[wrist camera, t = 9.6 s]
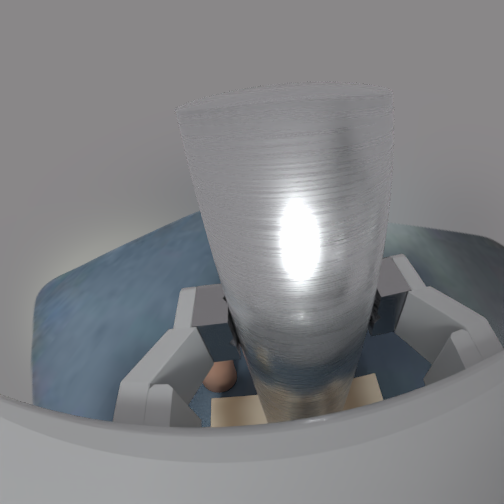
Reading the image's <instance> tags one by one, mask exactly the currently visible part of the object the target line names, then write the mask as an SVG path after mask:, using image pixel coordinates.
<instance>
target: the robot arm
mask: <svg viewBox="0 0 504 504" xmlns="http://www.w3.org/2000/svg"><path fill="white" fill-rule="evenodd" d="M368 330H369V333H370V335H371V336H376V335H380V334H385V333H389V332H394V331H395V333H396V334H397V335H398V336H399V337H401V338H402V339H403V340H404V341H405V342H406V343H408V344H409V345H410V346H411V347H412V348H414V349H415V350H416V351H417V352H418V353H420V354H421V355H422V356H423V357H424V358H425V359H427V360H428V361H429V362H430V363H431V364H432V366H431V367H430V369H429V370H428V372H427V373H426V375H425V377H424V379H423V380H424V383H425V385H426V386H424V387H421V388H419V389H416V390H413V391H410V392H407V393H404V394H401V395H398V396H395V397H392V398H389V399H386V400H382V401H379V402H375V403H372V404H368V405H365V406H361V407H357V408H353V409H349V410H344V411H340V412H335V413H331V414H326V415H321V416H315V417H310V418H304V419H297V420H291V421H284V422H276V423H267V424H257V425H245V426H229V427H201V419H200V418H199V417H198V416H197V415H196V414H195V413H194V412H193V411H192V410H191V408H190V407H189V406H188V404H189V403H190V401H191V400H192V398H193V397H194V395H195V393H196V392H197V390H198V389H199V387H200V385H201V384H202V382H203V381H204V379H205V378H206V376H207V374H208V373H209V371H210V370H211V368H212V366H213V365H214V362H220V361H229V360H237V359H241V356H240V341H239V338H238V335H237V332H236V329H235V326H234V323H233V320H232V317H231V313H230V310H229V307H228V304H227V301H226V297H225V294H224V291H223V288H222V284H214V285H205V286H198V287H189V288H182V290H181V291H180V295H179V300H178V306H177V311H176V316H175V322H174V328H173V329H169V330H168V331H167V332H166V333H165V334H164V335H163V336H162V337H161V338H160V340H159V341H158V342H157V343H156V344H155V345H154V346H153V347H152V348H151V349H150V350H149V352H148V353H147V354H146V355H145V356H144V357H143V358H142V359H141V360H140V361H139V363H138V364H137V365H136V366H135V367H134V368H133V369H132V370H131V371H130V372H129V374H128V375H127V376H126V377H125V378H124V379H123V380H122V381H121V384H120V388H119V393H118V397H117V402H116V407H115V412H114V417H113V422H110V421H104V420H97V419H91V418H86V417H80V416H75V415H71V414H66V413H62V412H57V411H53V410H49V409H45V408H42V407H38V406H34V405H31V404H27V403H24V402H21V401H18V400H15V399H12V398H9V397H6V396H4V395H1V394H0V504H504V349H503V347H502V345H501V344H500V342H499V340H498V338H497V337H496V335H495V333H494V331H493V330H492V328H491V326H490V325H489V323H488V321H487V320H486V318H484V317H483V316H481V315H479V314H478V313H476V312H474V311H473V310H471V309H469V308H467V307H466V306H464V305H462V304H461V303H459V302H457V301H455V300H454V299H452V298H450V297H448V296H447V295H445V294H443V293H441V292H440V291H438V290H436V289H434V288H432V287H431V286H429V287H426V286H425V284H424V283H423V281H422V280H421V278H420V277H419V275H418V274H417V272H416V271H415V269H414V268H413V266H412V265H411V263H410V262H409V261H408V259H407V258H406V256H405V255H403V254H399V255H394V256H389V257H385V258H382V264H381V269H380V275H379V280H378V285H377V290H376V295H375V299H374V304H373V308H372V313H371V317H370V321H369V325H368Z"/></svg>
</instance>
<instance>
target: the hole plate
mask: <svg viewBox="0 0 504 504" xmlns="http://www.w3.org/2000/svg"><path fill="white" fill-rule="evenodd" d="M382 400H383V398H382V394H381V391H380V388H379V385H378V382H377V379H376V375H375V373H373V374H369V375H365V376H361V377H357V378H353V381H352V384H351V387H350V390H349V393H348V395H347V398H346V401H345V404H344V407H343V409H342V411H344V410H349V409H353V408H357V407H361V406H365V405H368V404H372V403H375V402H379V401H382ZM267 423H268V422H267V419H266V417H265V414H264V411H263V408H262V405H261V403H260V400H259V397H258V395H250V396H239V397H226V398H212V400H211V427H229V426H245V425H257V424H267Z"/></svg>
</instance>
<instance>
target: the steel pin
mask: <svg viewBox="0 0 504 504" xmlns="http://www.w3.org/2000/svg"><path fill="white" fill-rule="evenodd" d="M393 103H394V102H393V91H392V90H391V89H388V88H385V87H380V86H375V85H368V84H359V83H345V82H302V83H285V84H276V85H266V86H258V87H252V88H246V89H240V90H235V91H229V92H225V93H221V94H216V95H212V96H209V97H204V98H201V99H198V100H195V101H192V102H189V103H186V104H184V105H181V106H179V107H177V108H176V109H175V113H176V118H177V122H178V126H179V130H180V135H181V139H182V143H183V147H184V151H185V155H186V159H187V163H188V167H189V171H190V174H191V178H192V182H193V186H194V190H195V193H196V197H197V201H198V205H199V208H200V212H201V216H202V219H203V223H204V226H205V230H206V233H207V237H208V240H209V244H210V247H211V251H212V254H213V258H214V261H215V264H216V268H217V271H218V275H219V278H220V281H221V284H222V288H223V291H224V294H225V297H226V301H227V304H228V307H229V310H230V313H231V317H232V320H233V323H234V326H235V329H236V332H237V335H238V338H239V341H240V344H241V347H242V350H243V353H244V356H245V359H246V362H247V365H248V368H249V371H250V374H251V377H252V380H253V383H254V386H255V389H256V391H257V394H258V397H259V400H260V403H261V405H262V408H263V411H264V414H265V417H266V419H267V422H268V423H276V422H284V421H291V420H297V419H304V418H310V417H315V416H321V415H326V414H331V413H335V412H340V411H342V409H343V407H344V404H345V401H346V398H347V395H348V393H349V390H350V387H351V384H352V381H353V378H354V374H355V371H356V368H357V365H358V361H359V358H360V355H361V351H362V348H363V344H364V340H365V337H366V333H367V329H368V325H369V321H370V317H371V313H372V308H373V304H374V299H375V295H376V290H377V285H378V280H379V275H380V269H381V264H382V258H383V252H384V245H385V238H386V231H387V223H388V215H389V206H390V195H391V184H392V169H393V146H394V145H393V144H394V104H393Z"/></svg>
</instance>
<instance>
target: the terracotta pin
mask: <svg viewBox="0 0 504 504" xmlns="http://www.w3.org/2000/svg"><path fill="white" fill-rule="evenodd" d="M236 380H237V373H236V370H235V366H234V363H233V360H229V361H220V362H214V365H213V366H212V368H211V370H210V371H209V373H208V374H207V376H206V378H205V379H204V381H203V384H204V386H205V387H206V388H207V389H208V390H210V391H212V392H224V391H227V390H229V389H230V388H232V387H233V386H234V384H235V382H236Z"/></svg>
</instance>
